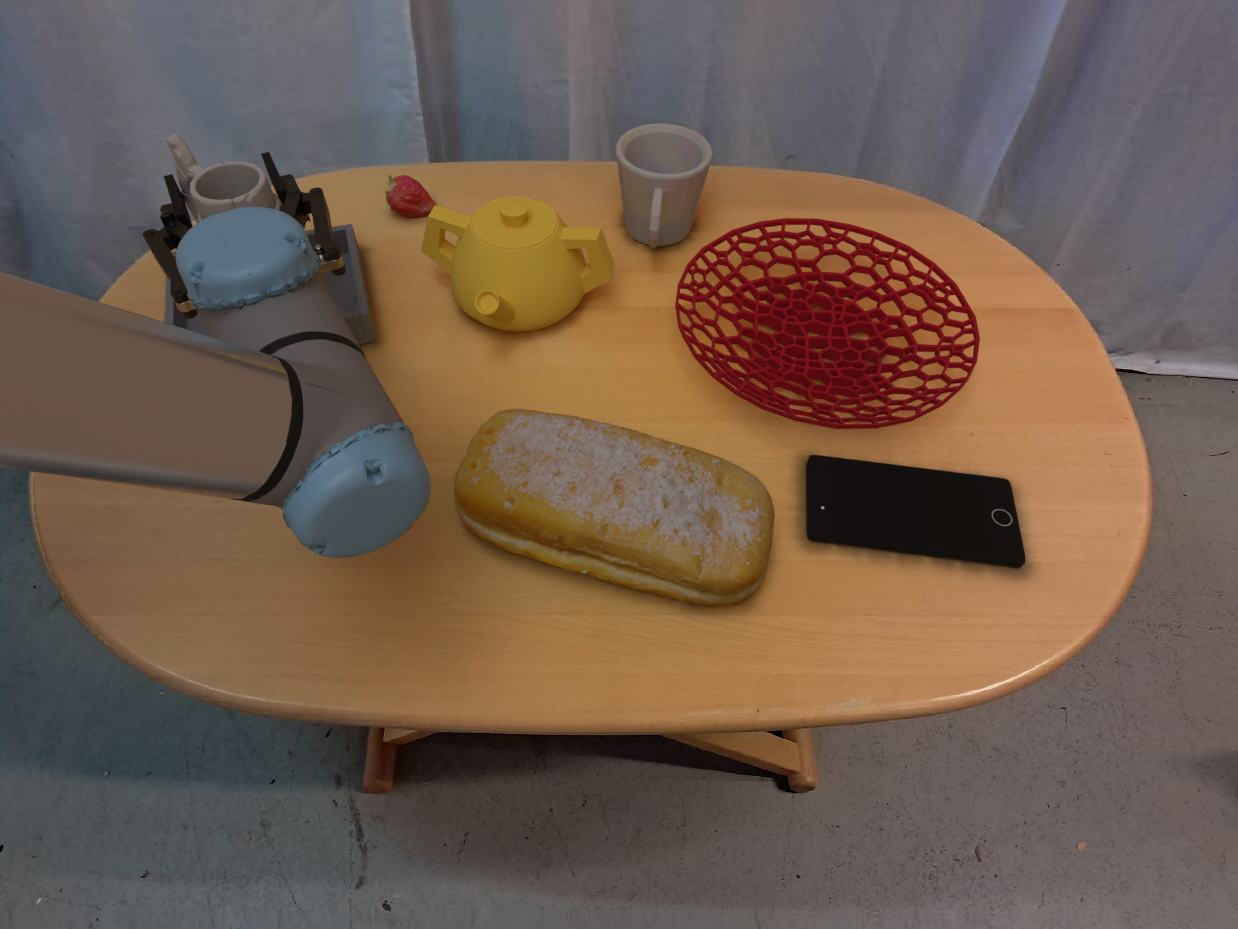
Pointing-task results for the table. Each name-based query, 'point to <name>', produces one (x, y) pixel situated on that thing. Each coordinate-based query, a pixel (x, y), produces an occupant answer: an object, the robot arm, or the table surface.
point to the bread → (617, 506)
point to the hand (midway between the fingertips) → (222, 176)
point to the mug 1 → (219, 183)
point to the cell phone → (912, 510)
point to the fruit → (408, 197)
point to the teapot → (517, 262)
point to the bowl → (824, 327)
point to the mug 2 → (661, 180)
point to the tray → (342, 289)
